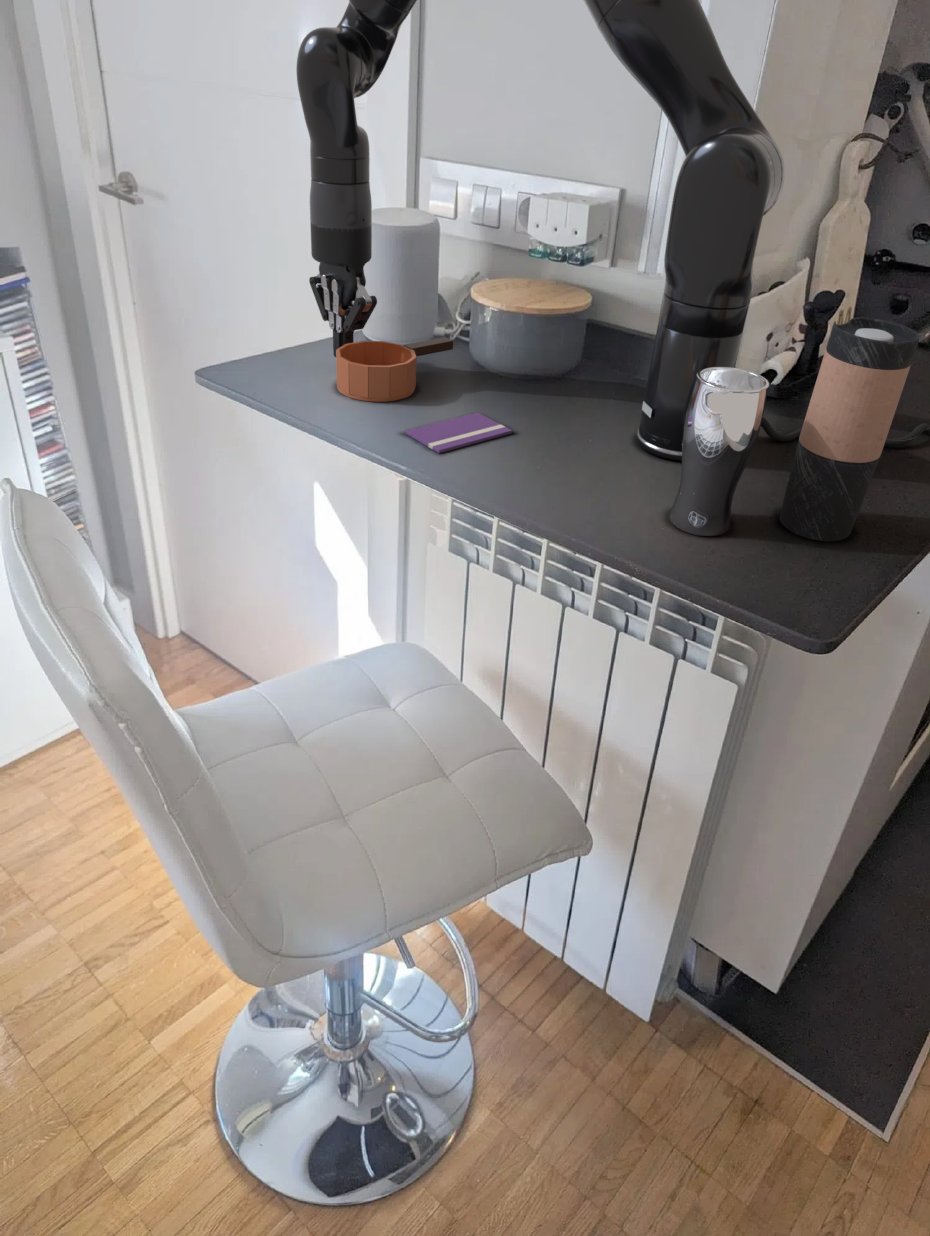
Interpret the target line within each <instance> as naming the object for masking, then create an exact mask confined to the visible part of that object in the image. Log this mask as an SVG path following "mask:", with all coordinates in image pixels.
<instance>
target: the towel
mask: <svg viewBox="0 0 930 1236" xmlns="http://www.w3.org/2000/svg"><path fill="white" fill-rule="evenodd" d="M404 433H405V435H407V436H409V437H410V438H412V439H414V440H416V441H417V442H419V443H420V444H422V445H424V446H426V447H428V448H429V449H431V450H433V451H434V452H436V453H438V454H441V453H445V452H449V451H453V450H457V449H461V448H463V447H467V446H470V445H475V444H478V443H482V442H485V441H489V440H492V439H496V438H500V437H503V436H507V435H511V434H513V430H512V429H510V428H509V427H507V426H506V425H503V424H502V423H499V422H498V421H496V420H494V419H491V418H490V417H487V416H485V415H484V414H483V413H480V412H474V413H469V414H465V415H462V416H457V417H453V418H450V419H446V420H441V421H437V422H434V423H430V424H426V425H421V426H418V427H413V428H410V429H405V431H404Z"/></svg>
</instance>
